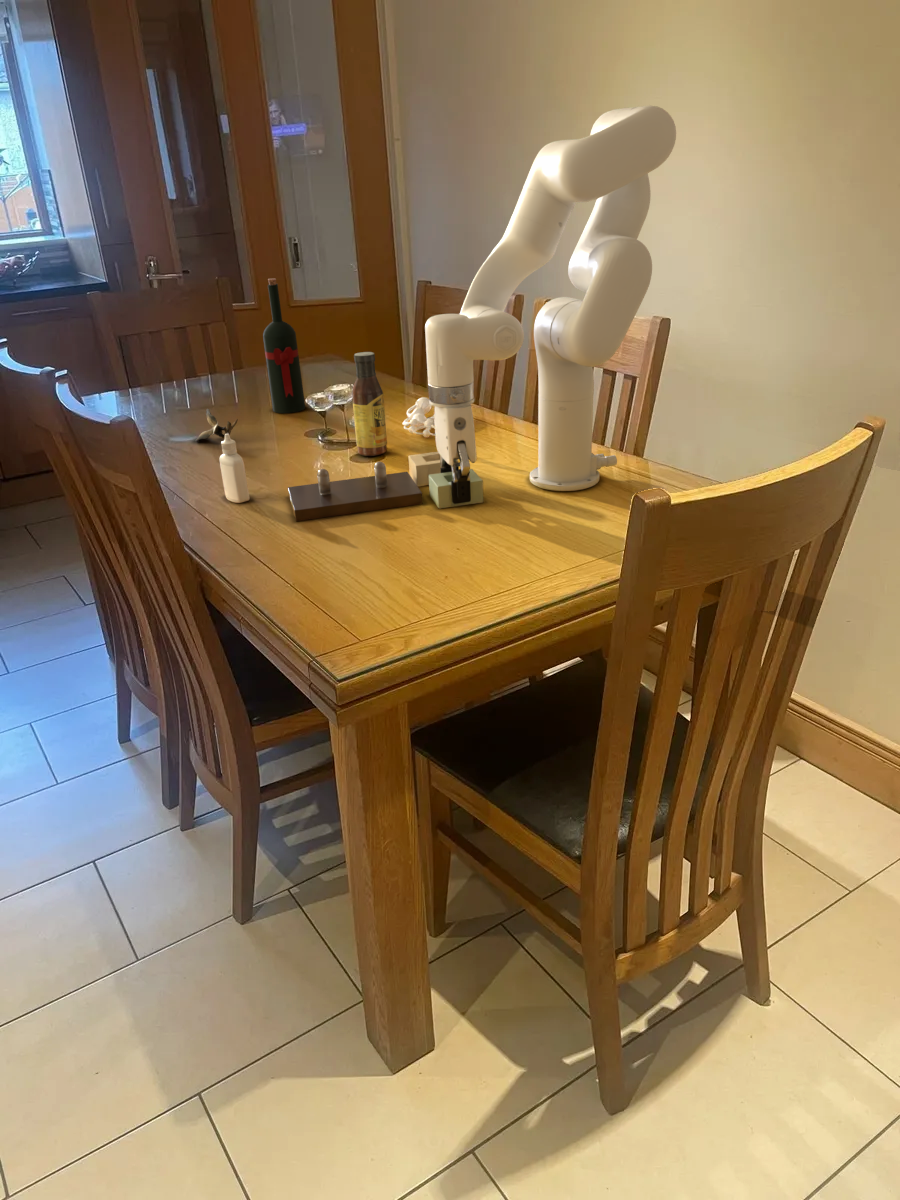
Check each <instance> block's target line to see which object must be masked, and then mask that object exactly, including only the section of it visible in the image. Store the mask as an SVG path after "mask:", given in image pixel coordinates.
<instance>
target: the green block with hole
mask: <svg viewBox="0 0 900 1200" xmlns="http://www.w3.org/2000/svg"><path fill="white" fill-rule="evenodd" d="M469 471H470V489H471V501H470V502H465V503H458V504H454V503H453V502H452V489H451V481H453V476H452V472H445V473H438V474H430V475H429V485H428V487H429V488H428V489H429V497H430V499H431V500H432V501H433V503H434V504H435V506H436V507H437V508H438V509H445V508H446V509H447V508H453V507H460V506H466V505H475V504H482V503H484V481H483V479H482V478H481V477H480V476H479V474H477V472H476V471H474V469H473V468H470V470H469ZM456 472H457V471H456Z"/></svg>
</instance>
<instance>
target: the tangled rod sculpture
mask: <svg viewBox="0 0 900 1200" xmlns="http://www.w3.org/2000/svg"><path fill="white" fill-rule="evenodd" d="M432 407H433V406H432V405H430V404H429V397H423V396H422V397H420V398H418V399H417V400H416V401H415V404H414V405H412V406H410V407H409V408H408V409H407V410H406V417H407V418H405V419H404V420H403V422H402V425H403V429H404V430H405V431H408V432H409V433H410V434H415V435H419V436H423V437H424V438H427V439H428V438H429V437H430V436H433V437H435V433H432V432H431V431H430V430H432V429H434V430H435V412H434V413H433V415H432V416H429V417H426V415H427V414H429V412H430V411H432ZM408 426H409V427H408ZM419 430H423V431H422V432H418V431H419Z"/></svg>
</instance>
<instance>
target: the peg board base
mask: <svg viewBox="0 0 900 1200" xmlns="http://www.w3.org/2000/svg"><path fill="white" fill-rule="evenodd" d="M373 468H374V469H373V471H374V475H371V476H364V477H356V478H348V479H339V480H332V481H331V479H330V473H329V471H328V470H327V469H325V468H321V469H319V470H318V471H317V475H316V476H317V482H316V483H309V484H301V485H294V486H288V487H287V492H288V498H289V501H290V505H291V509H292V512H293V516H294V519H295V522H302V521H309V520H317V519H322V518H331V517H339V516H344V515H350V514H351V515H353V514H357V513H359V514H360V513H366V512H374V511H379V510H380V511H382V510H388V509H394V508H396V509H397V508H402V507H409V506H417V505H423V504H424V499H423V492H422V491H421V489H420V487H419V486H417V485H416V483H415V482H414V481H413V479H412V478H411V476H410V473H409V472H408V471H402V472H395V473H387V467H386V463H385V462H383V461H377V462H376V463H375V464H374V466H373Z"/></svg>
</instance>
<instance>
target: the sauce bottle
mask: <svg viewBox="0 0 900 1200" xmlns="http://www.w3.org/2000/svg"><path fill="white" fill-rule="evenodd" d="M353 359H354V363H355V369H356V373H355V375H356V379H355V382H354V383H353V385H352V391H351V393H352V394H351V395H352V411H353V421H354V422H353V423H354V433H355V443H356V447H357V453H358V454H359V455H361V456H364V457H374V456H375V457H376V456H380V455H382V454H385V453H387V448H388V447H387V446H388V435H387V423H386V411H385V409H386V408H385V398H384V397H385V396H384V391H383V389H382V387H381V384H380V382H379V380H378V378H377V372H376V365H375V362H376V355H375V352H372V351H363V352H357V353H354V355H353Z"/></svg>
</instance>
